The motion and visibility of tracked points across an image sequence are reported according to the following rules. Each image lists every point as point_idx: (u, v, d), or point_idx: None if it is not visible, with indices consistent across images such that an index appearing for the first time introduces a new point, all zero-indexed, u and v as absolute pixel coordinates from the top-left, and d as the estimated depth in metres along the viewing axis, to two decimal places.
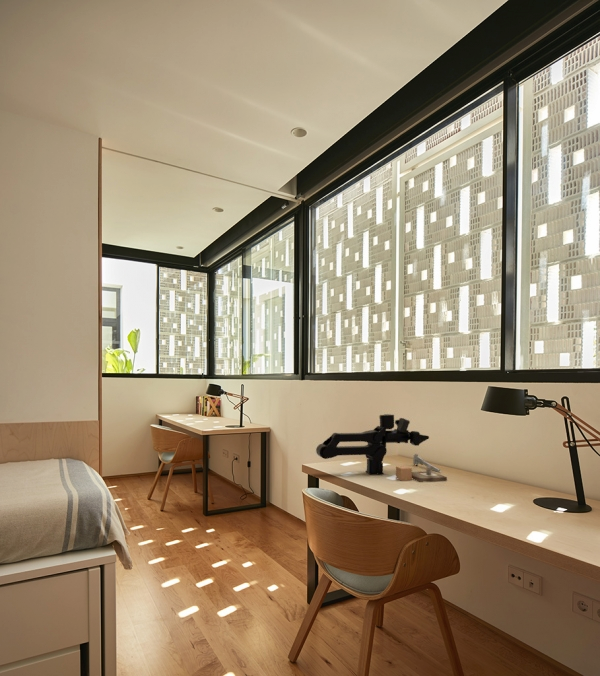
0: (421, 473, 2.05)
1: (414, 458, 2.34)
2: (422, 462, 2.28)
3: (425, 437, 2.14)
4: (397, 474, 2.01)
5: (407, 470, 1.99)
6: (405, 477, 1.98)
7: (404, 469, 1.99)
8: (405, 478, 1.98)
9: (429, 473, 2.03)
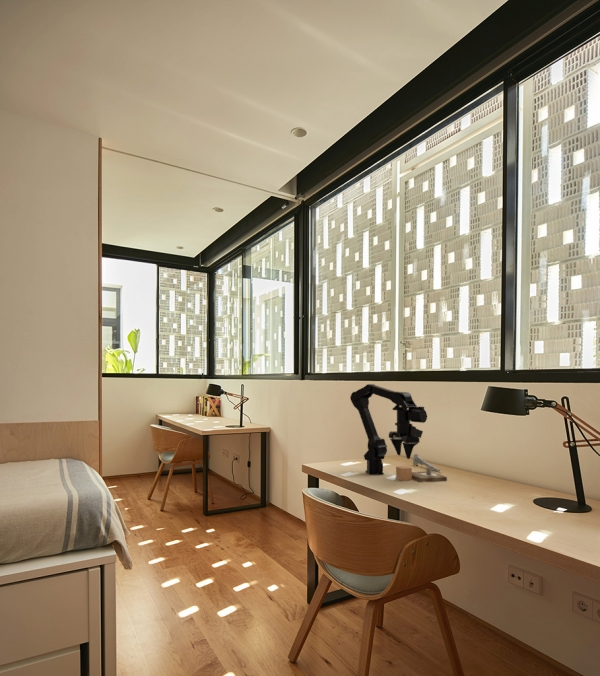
0: (421, 473, 2.05)
1: (414, 458, 2.34)
2: (422, 462, 2.28)
3: (409, 454, 1.97)
4: (397, 474, 2.01)
5: (407, 470, 1.99)
6: (405, 477, 1.98)
7: (404, 469, 1.99)
8: (405, 478, 1.98)
9: (429, 473, 2.03)
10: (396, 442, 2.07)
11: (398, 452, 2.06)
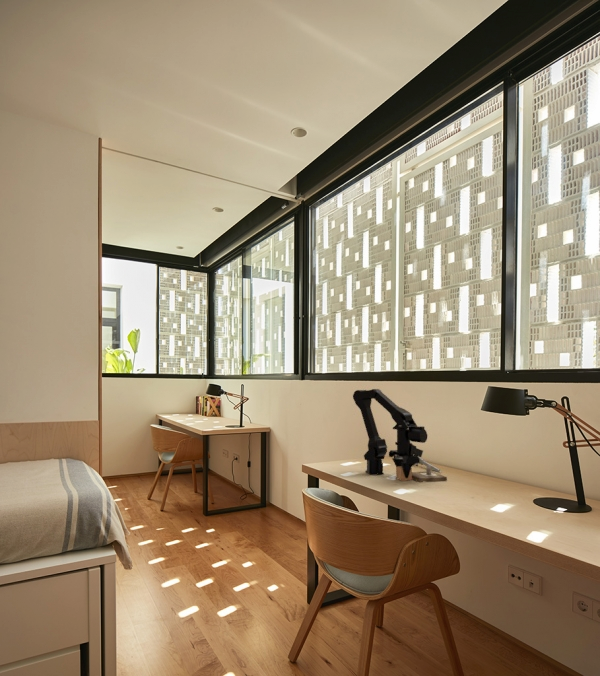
0: (421, 473, 2.05)
1: None
2: (422, 462, 2.28)
3: (407, 473, 1.98)
4: (397, 474, 2.01)
5: None
6: None
7: None
8: (405, 478, 1.98)
9: (429, 473, 2.03)
10: (398, 462, 2.04)
11: None
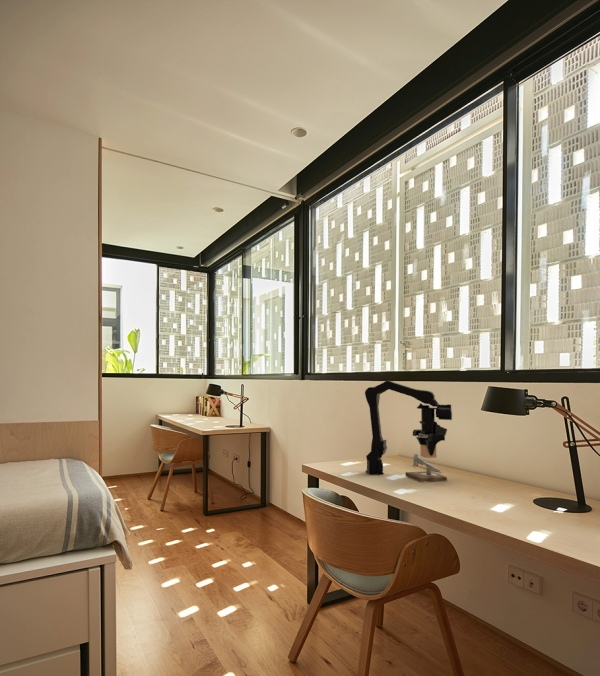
0: (421, 473, 2.05)
1: (414, 458, 2.33)
2: (422, 462, 2.28)
3: (432, 450, 2.01)
4: (421, 452, 2.05)
5: None
6: None
7: None
8: (430, 456, 2.02)
9: (429, 473, 2.03)
10: (422, 440, 2.08)
11: None
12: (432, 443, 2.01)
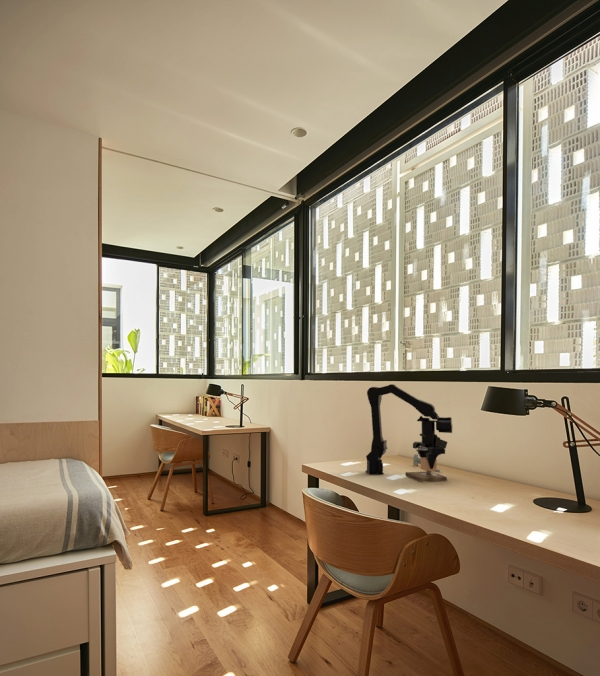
0: (421, 473, 2.05)
1: (414, 458, 2.33)
2: None
3: (432, 464, 2.01)
4: (422, 465, 2.05)
5: None
6: (430, 468, 2.01)
7: None
8: (430, 469, 2.01)
9: (429, 473, 2.03)
10: (423, 453, 2.07)
11: None
12: (432, 456, 2.01)
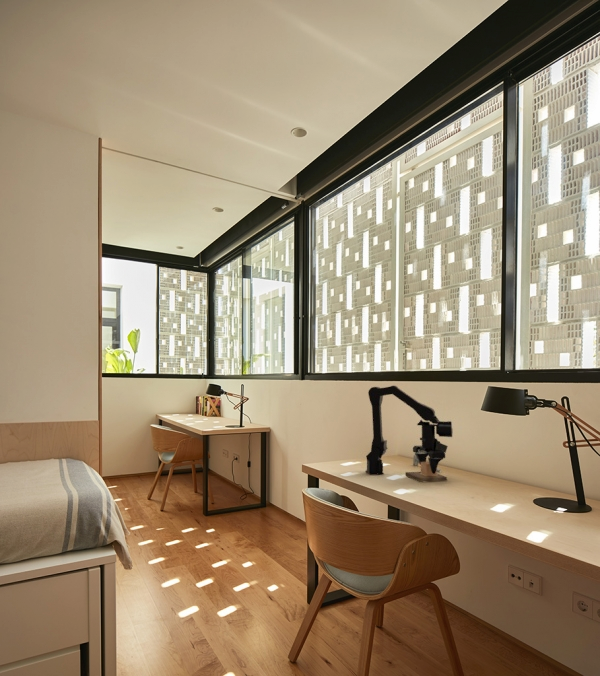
0: None
1: (414, 458, 2.33)
2: None
3: (434, 468, 1.99)
4: (422, 470, 2.04)
5: None
6: (430, 472, 2.01)
7: (429, 464, 2.01)
8: (430, 473, 2.01)
9: None
10: (421, 457, 2.09)
11: None
12: (434, 461, 1.99)
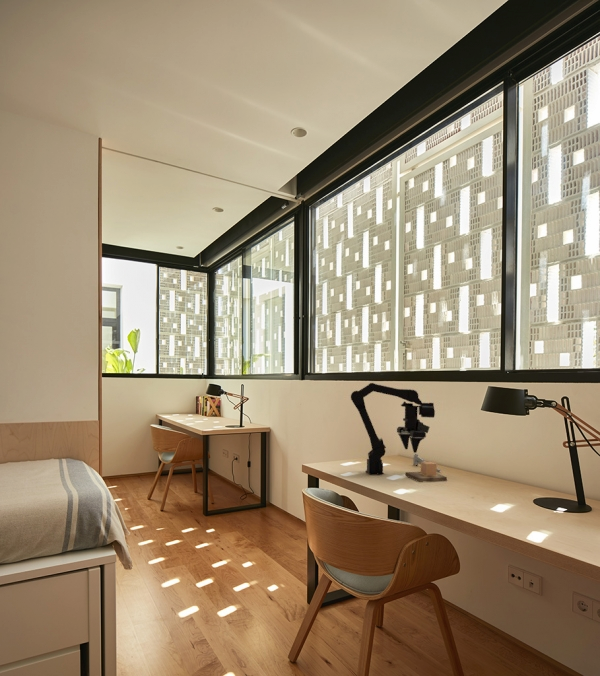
0: None
1: (414, 458, 2.33)
2: None
3: (415, 448, 2.06)
4: (422, 470, 2.04)
5: (432, 465, 2.02)
6: (430, 472, 2.01)
7: (429, 464, 2.01)
8: (430, 473, 2.01)
9: None
10: (404, 437, 2.17)
11: (405, 446, 2.16)
12: (416, 440, 2.06)
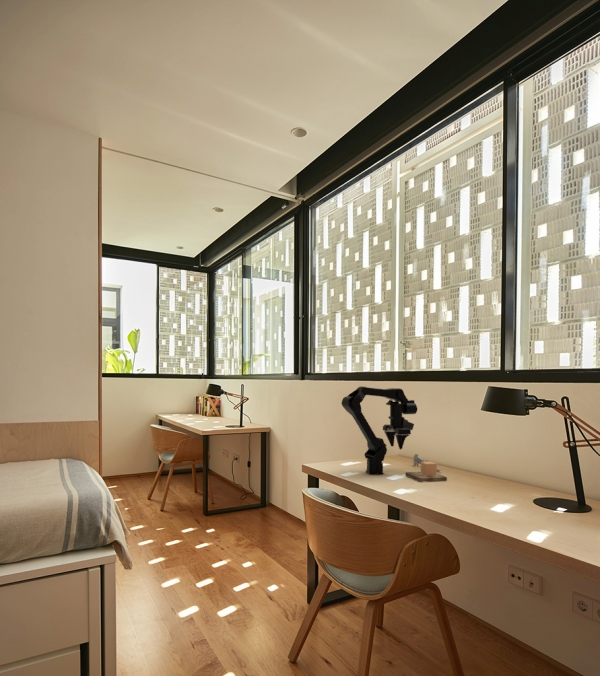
0: None
1: (414, 458, 2.33)
2: None
3: (401, 444, 2.13)
4: (422, 470, 2.04)
5: (432, 465, 2.02)
6: (430, 472, 2.01)
7: (429, 464, 2.01)
8: (430, 473, 2.01)
9: None
10: (389, 434, 2.23)
11: (391, 443, 2.23)
12: (401, 437, 2.13)
